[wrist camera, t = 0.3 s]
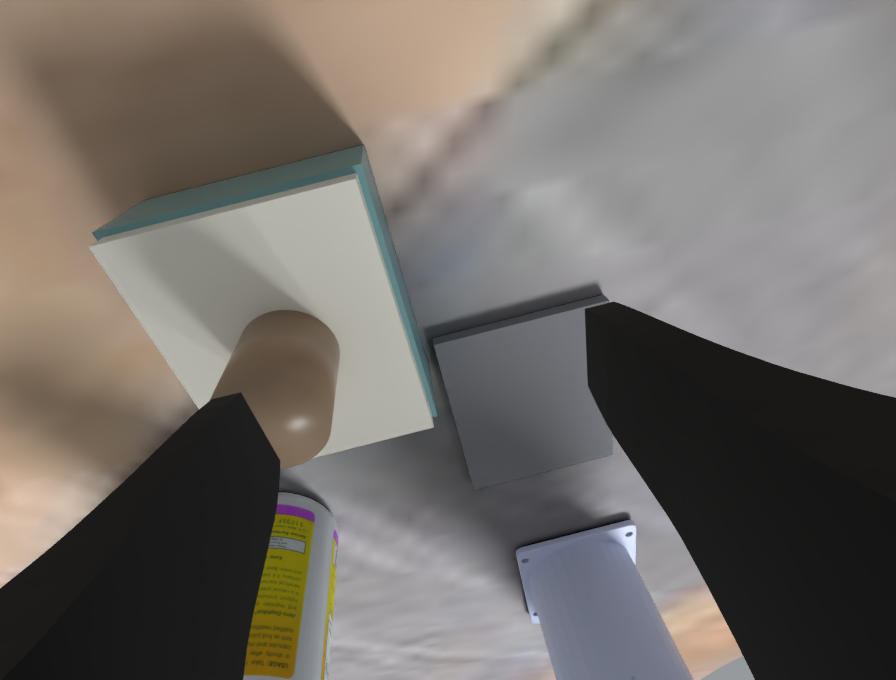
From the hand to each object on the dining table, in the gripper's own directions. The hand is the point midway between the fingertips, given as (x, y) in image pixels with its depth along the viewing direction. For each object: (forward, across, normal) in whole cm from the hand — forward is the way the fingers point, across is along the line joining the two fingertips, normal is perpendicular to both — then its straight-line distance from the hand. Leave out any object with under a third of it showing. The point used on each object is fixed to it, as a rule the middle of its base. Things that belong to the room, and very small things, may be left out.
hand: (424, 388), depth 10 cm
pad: (+10, -4, +10) cm, 15 cm away
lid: (+6, +4, +2) cm, 8 cm away
